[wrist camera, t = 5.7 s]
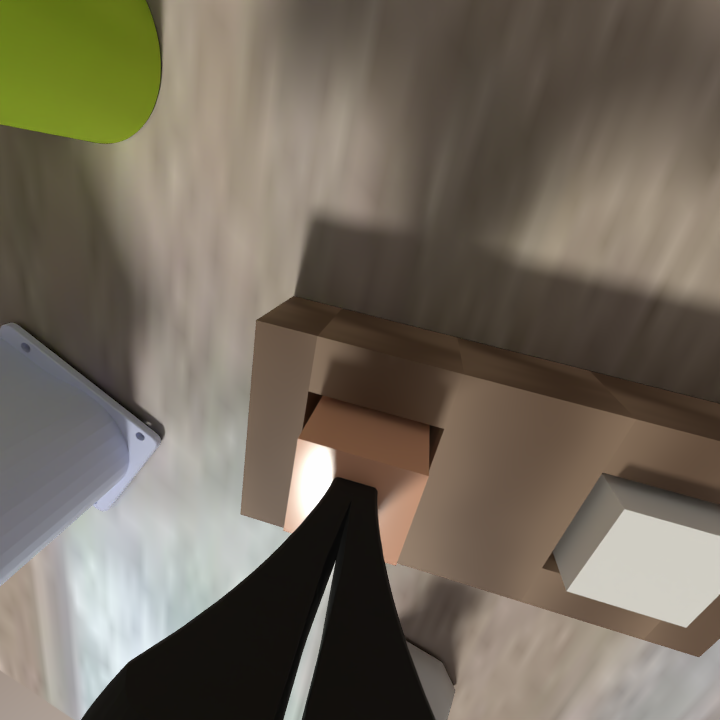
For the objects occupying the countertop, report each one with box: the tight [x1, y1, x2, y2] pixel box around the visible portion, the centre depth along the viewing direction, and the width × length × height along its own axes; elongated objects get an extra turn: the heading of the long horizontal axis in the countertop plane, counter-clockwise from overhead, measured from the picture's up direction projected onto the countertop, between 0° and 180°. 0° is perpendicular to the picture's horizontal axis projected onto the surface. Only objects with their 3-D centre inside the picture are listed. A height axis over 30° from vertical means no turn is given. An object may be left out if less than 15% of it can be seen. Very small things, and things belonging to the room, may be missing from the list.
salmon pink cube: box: [283, 396, 430, 566], centre depth 13 cm, size 4×4×4 cm
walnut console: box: [241, 296, 720, 657], centre depth 14 cm, size 19×9×4 cm, turn 78°
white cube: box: [553, 473, 720, 628], centre depth 13 cm, size 4×4×4 cm
